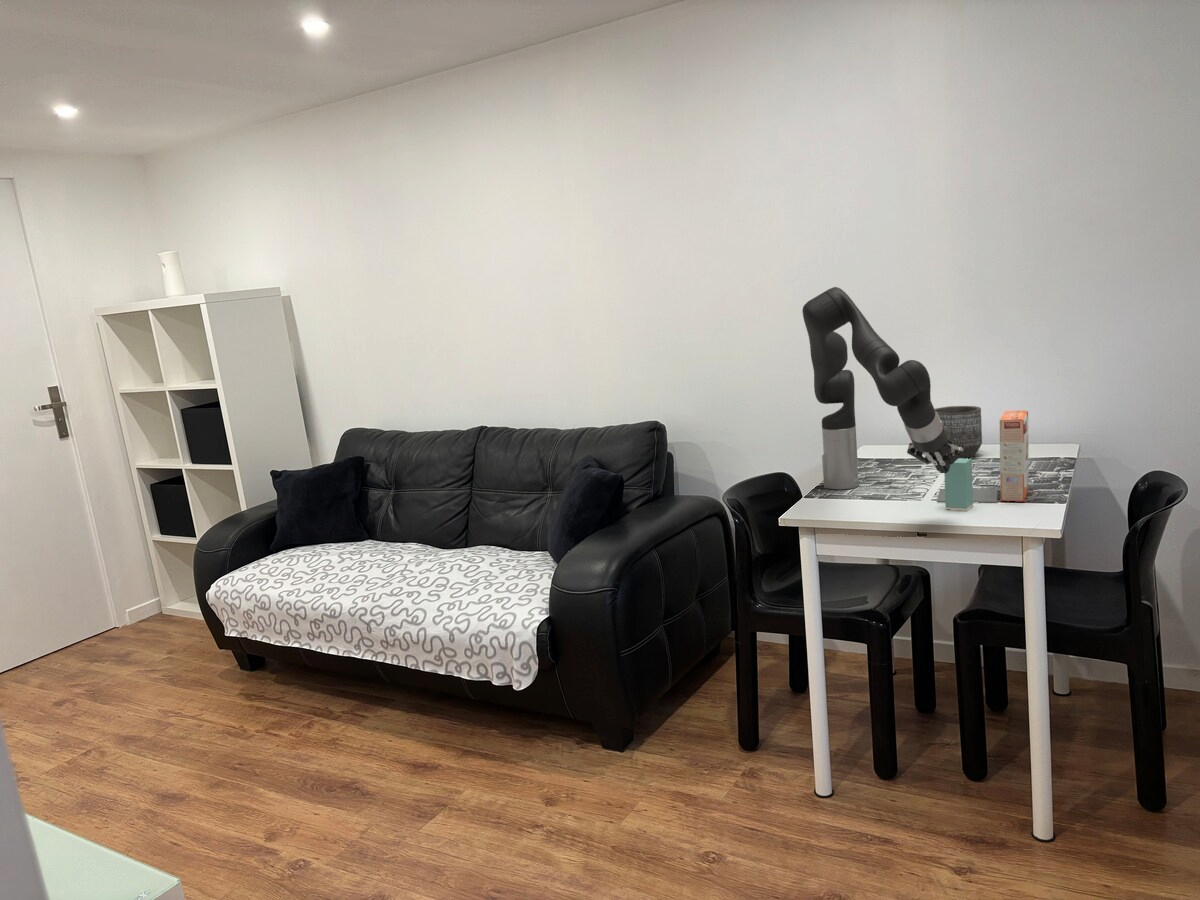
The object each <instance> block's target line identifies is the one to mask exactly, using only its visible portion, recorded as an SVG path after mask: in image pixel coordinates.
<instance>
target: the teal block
mask: <svg viewBox="0 0 1200 900" xmlns="http://www.w3.org/2000/svg"><path fill="white" fill-rule="evenodd" d="M943 474H944V489H945V503H944V504H945V510H946V509H950V510H949V511H956V510H964V511H963V512H968V511H969V510H970V509H972V508H973V507H974V503H973V489H974V488H973V458H969V459H963V458H958V459H957V460H956V461H955V462H954V463H953V464H951V465H950V469H949V471H948V472H947V473H943ZM972 506H973V507H972ZM971 507H972V508H971ZM968 509H969V510H968ZM967 510H968V511H967Z"/></svg>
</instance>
